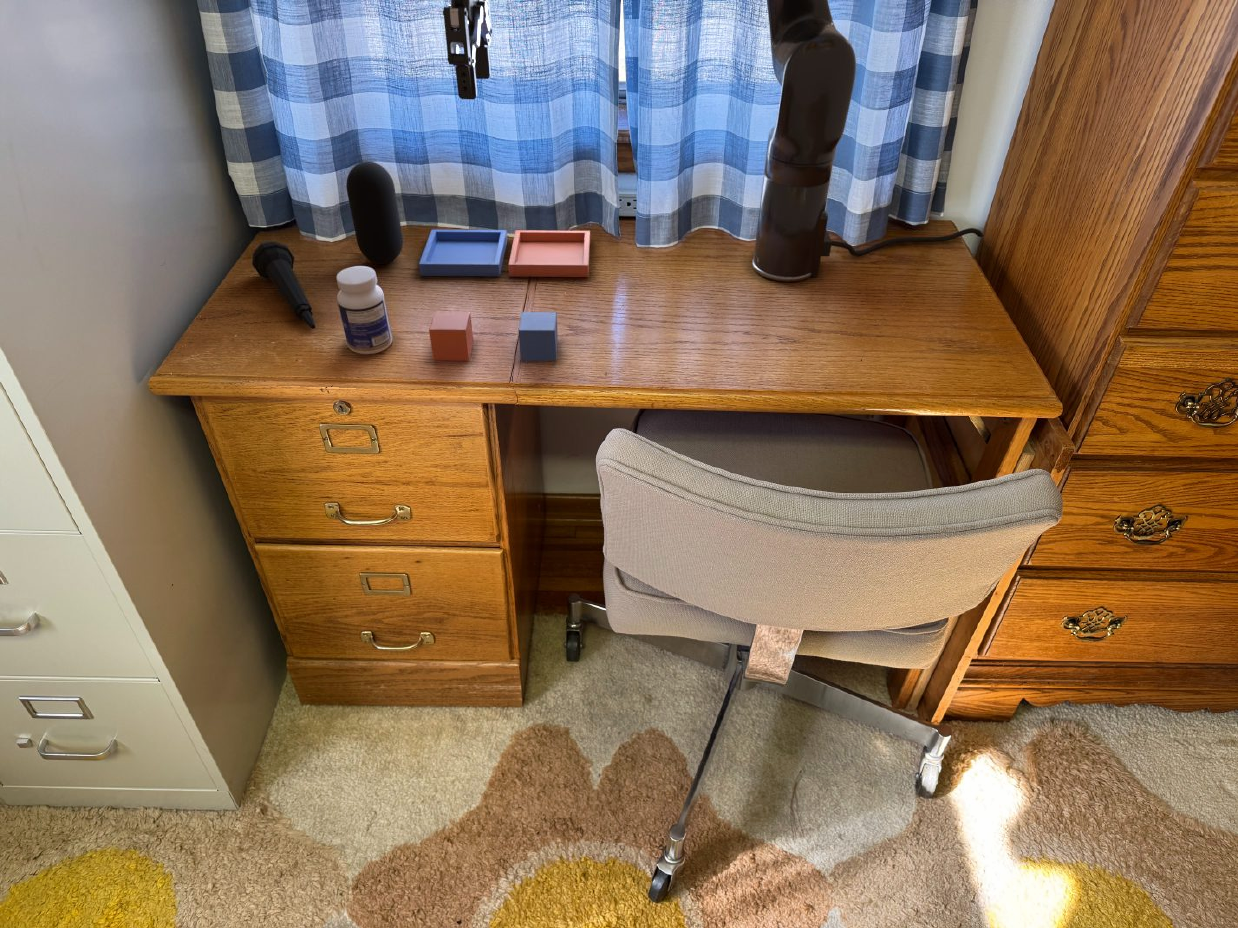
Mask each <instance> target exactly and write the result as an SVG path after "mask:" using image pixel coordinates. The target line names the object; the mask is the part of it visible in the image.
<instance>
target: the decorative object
mask: <svg viewBox="0 0 1238 928" xmlns="http://www.w3.org/2000/svg"><path fill="white" fill-rule="evenodd" d="M345 184H346V185H345V187H346V194H347V198H348V203H349V209H350V213H351V218H352V224H353V228H354V229H353V230H354V233H355V234H354V235H355V238H356V243H357V246H358V249H359V251H360V253H361V254H362V255H363V256H364V257H365V258H366V259H367V260H368V261H370V262H372V263H374V264H378V265H386V264H389V263H392V262H393V261H395V260H396V259H397V258H398V257H399V256H400V254H401V252H402V250H403V245H404V237H403V229H402V224H401V218H400V213H399V212H400V210H399V207H398V200H397V193H396V187H395V183H394V179H393V177H392V176H391V175H390V172H389V171H388V170H387V169H386V168H385V167H383V166H382V165H381V164H380V163H377V162H374V161H362V162H358V163H357V164H355V165H354V166H353V167H352V168H351V169H350V171H349V173H348V175H347V178H346V183H345Z"/></svg>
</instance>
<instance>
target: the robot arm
mask: <svg viewBox="0 0 1238 928" xmlns="http://www.w3.org/2000/svg"><path fill="white" fill-rule="evenodd" d="M490 3H491V2H490V0H450V4H449V5H448V6H444V7H443V9H442V15H443V22H444V33H445V43H446V53H447V62H448V65H449V66H450V65H451V66H453V67H454V68H455V77H456V86H457V87H456V88H457V95H458V97H459V98H460V99H461V100H473V101H474V100H475V99H476V98H477V97H478V86H477V85H478V84H477V80H488V79H490V77H491V76H492V72H491V60H490V59H491V58H490V48H489V46H490V45H491V37H493V33H494V30H493V23H492V14H491V4H490ZM766 5H767V6H766V7H767V17H768V27H769V37H770V38H769V39H770V53H771V63H772V67H773V68H772V69H773V72H774V76H775V78H776V80H777V82H778V83H779V85H780V86H781V90H780V98H779V103H778V104H779V105H778V111H777V117H776V123H775V125H774V126H773V127H772V128H771V129H770V131H769V133H768V137H767V145H766V154H765V160H764V161H765V163H764V168H763V169H764V170H763V178H762V187H761V194H760V203H759V210H758V218H757V227H756V235H755V241H754V250H753V256H752V262H751V266H752V269H753V270H754V272H755V273H757V274H758V275H759V276H761V277H763V278H766V279H769V280H772V281H777V282H785V283H788V282H789V283H791V282H801V281H804V280H808V279H810V278H817V277H818V276H819V271H820V265H821V258H822V257H830V256H831V251H832V250H831V249H832V247H838V248H842V249H846V250H847V251H848V252H849V254H850V255H851V256H854V257H860V256H863V255H867V254H869V253H872V252H875V251H876V250H878V249H881V248H882V247H883V248H884V247H886V246H889V245H895V244H903V243H939V242H940V243H941V242H949V241H951V240H955V239H958V238H959V237H962V236H965V235H968V234H974V235H976V236H977V237H978V238H984V234H983V232H982V231H981V230H979V229H978V228H974V227H969V228H965V229H961V230H959V231H957V232H955V233H952V234H948V235H941V236H904V237H894V238H889V239H885V240H882V241H879V242H877V243H875V244H873V245H871V246H869V247H867V248H864V249H860V250H859V249H858V250H855V248H854V247H853V246H852V245H851V244H849V243H847V242H844V241H838V240H832V239H831V237H830V235H829V232H828V229H827V226H828V221H829V214H828V212H827V210H826V207H827V201H828V196H829V190H830V185H831V180H832V179H831V178H832V173H833V167H834V160H835V156H836V150H837V147H838V144H839V142H840V141H841V139H842V138H843V135H844V133H845V128H846V124H847V119H848V115H849V110H850V106H851V100H852V95H853V91H854V87H855V86H854V85H855V79H856V70H857V60H856V59H857V57H856V54H855V50H854V47H853V46H852V44H851V43H850V41H849V40H848V39H847V38H846V37H845V36H844V35H843V34H842V33H841V32H840V31H839V30H838V29H837V28H836V26H835V23H834V19H833V16H832V13H831V9H830V5H829V0H766ZM461 48H463V53H460V49H461Z"/></svg>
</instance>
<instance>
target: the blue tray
mask: <svg viewBox="0 0 1238 928" xmlns="http://www.w3.org/2000/svg"><path fill="white" fill-rule="evenodd" d="M507 234H508V232H507V230H506V229H431V231H430V234H429V236H428V239H427V241H426V244H425V246H424V250H423V251H422V253H421V257H420V260H419V262H418V267H419V268H418V269H419V274H420V276H422V277H500V276H501V273H502V269H503V263H504V258H505V253H506V250H507V245H508V235H507Z"/></svg>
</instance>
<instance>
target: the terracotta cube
mask: <svg viewBox="0 0 1238 928" xmlns="http://www.w3.org/2000/svg"><path fill="white" fill-rule="evenodd" d="M428 332H429V340H430V346H431V353H432V359H433V361H470V359H471V358H470V357H471V354H472V351H473V350H472V349H473V345H474V333H473V325H472V317H471V311H448V310H447V311H446V310H445V311H444V310H443V311H439V310H438V311H437V310H436V311H434V313H433V316H432V319H431V322H430V325H429V328H428Z"/></svg>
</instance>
